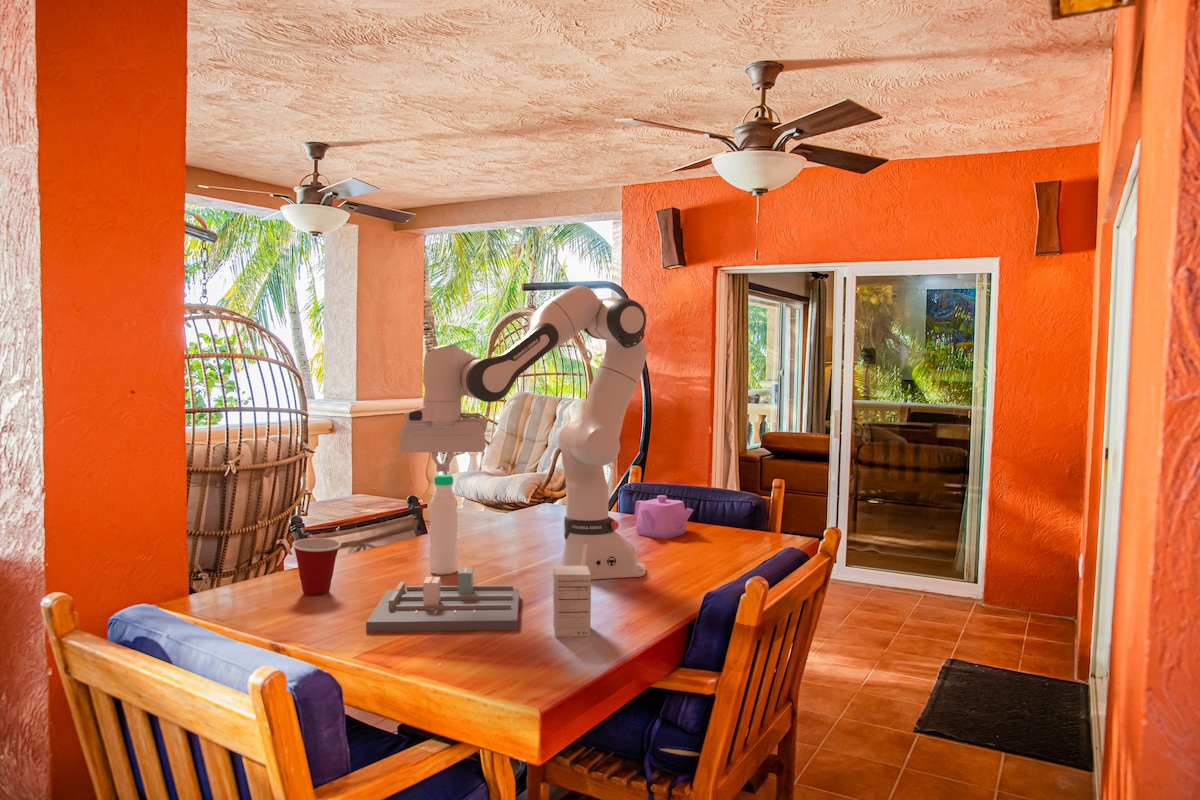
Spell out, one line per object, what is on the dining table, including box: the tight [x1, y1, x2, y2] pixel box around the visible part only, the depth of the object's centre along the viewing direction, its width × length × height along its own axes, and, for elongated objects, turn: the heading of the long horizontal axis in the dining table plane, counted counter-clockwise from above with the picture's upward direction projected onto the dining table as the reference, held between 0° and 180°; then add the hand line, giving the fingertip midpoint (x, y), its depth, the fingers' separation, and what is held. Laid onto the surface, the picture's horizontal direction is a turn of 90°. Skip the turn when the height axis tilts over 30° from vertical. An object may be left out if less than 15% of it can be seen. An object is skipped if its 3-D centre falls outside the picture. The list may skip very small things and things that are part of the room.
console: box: [365, 581, 520, 633], centre depth 180 cm, size 30×24×4 cm
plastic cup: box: [291, 537, 342, 597], centre depth 195 cm, size 11×11×12 cm
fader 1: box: [422, 576, 441, 605], centre depth 180 cm, size 3×5×5 cm, turn 4°
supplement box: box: [552, 565, 592, 638], centre depth 169 cm, size 7×7×13 cm
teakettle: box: [633, 494, 694, 540], centre depth 268 cm, size 17×17×12 cm
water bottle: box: [428, 474, 458, 576], centre depth 216 cm, size 7×7×25 cm
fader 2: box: [457, 566, 474, 594], centre depth 189 cm, size 3×5×5 cm, turn 4°
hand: (442, 471), depth 199 cm, fingers closed
